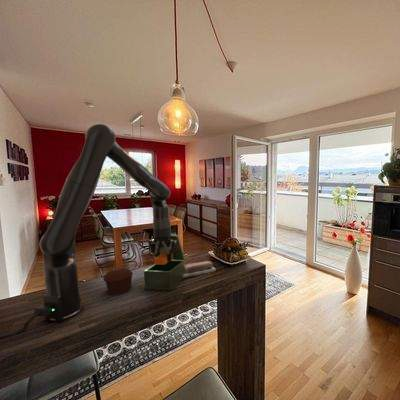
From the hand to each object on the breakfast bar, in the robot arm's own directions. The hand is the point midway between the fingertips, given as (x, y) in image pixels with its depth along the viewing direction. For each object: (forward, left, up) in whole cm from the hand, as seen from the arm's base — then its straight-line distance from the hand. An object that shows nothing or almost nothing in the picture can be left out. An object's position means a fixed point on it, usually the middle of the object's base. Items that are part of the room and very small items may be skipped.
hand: (163, 260), depth 111 cm
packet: (0, 0, 0) cm, 0 cm away
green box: (+1, 0, -12) cm, 12 cm away
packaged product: (+15, -10, -12) cm, 22 cm away
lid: (+5, 0, +5) cm, 7 cm away
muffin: (-8, +18, -12) cm, 23 cm away
